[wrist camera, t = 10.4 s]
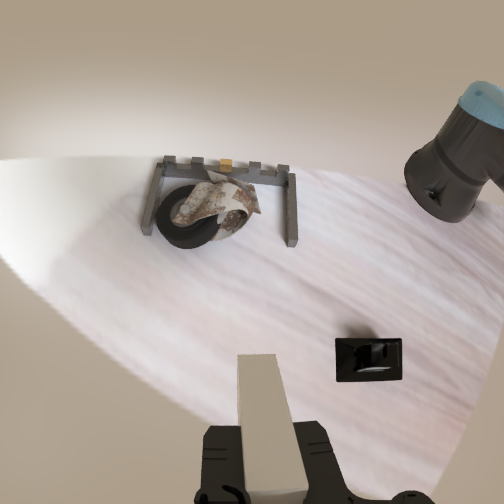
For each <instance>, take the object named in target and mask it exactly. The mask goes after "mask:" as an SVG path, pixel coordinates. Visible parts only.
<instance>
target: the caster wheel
mask: <svg viewBox="0 0 504 504" xmlns="http://www.w3.org/2000/svg"><path fill="white" fill-rule="evenodd" d="M207 172H208V174H209V176H210V179H211V181H212V183H213V184H212V183H209V182H199V183H198V184H197V185H187V186H183V187H180V188H178V189H176V190H174V191H173V192H171V193H170V194H169V195H168V196H167V197H166V198H165V199H164V200H163V201H162V203H161V205H160V207H159V209H158V212H157V226H158V228H159V230H160V232H161V233H162V234H163V236H164V237H165V238H166V239H167V240H168V241H169V242H170V243H171V244H172V245H174V246H176V247H178V248H182V249H192V248H197V247H199V246H201V245H203V244H205V243H207V242H208V241H217V240H223V239H226V238H228V237H230V236H232V235H234V234H235V233H236V232H238V231H239V230H240V229H241V228H242V227H243V226H244V225H245V224H246V223H247V221H248V220H249V218H250V216H251V214H252V213H253V212H256V213H258V214H261V211H260V207H259V203H258V200H257V196H256V192H255V188H254V186H253V185H252V184H249V183H246V182H243V181H240V180H237V179H234V178H231V177H227V176H224V175H221V174H218V173H215V172H212V171H207Z"/></svg>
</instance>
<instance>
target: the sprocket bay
mask: <svg viewBox="0 0 504 504" xmlns="http://www.w3.org/2000/svg"><path fill="white" fill-rule="evenodd" d="M260 169H261V162H252V161H249V168H248V169H246V168H235V167H232V160H229V159H221V161H220V166H210V165H204V158H202V157H192V161H191V164H177V163H176V156H164V159H163V163H157V167H156V171H155V174H154V178H153V181H152V185H151V189H150V193H149V197H148V201H147V205H146V209H145V213H144V217H143V221H142V225H141V229H142V232H143V234H144V235H148V236H151V233H152V229H153V224H154V219H155V215H156V210H157V206H158V202H159V197H160V193H161V189H162V185H163V181H164V177H177V178H194V179H208V180H211V179H210V176H209V174H208V172H207V171H212V172H215V173H218V174H221V175H224V176H227V177H231V178H234V179H237V180H240V181H243V182H246V183H256V184H266V185H276V186H285V187H286V203H287V247H295V246H296V244H297V241H298V224H297V199H296V178H295V174H294V173H289V165H280V164H278V166H277V170H276V171H267V170H260Z"/></svg>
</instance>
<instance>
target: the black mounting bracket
mask: <svg viewBox="0 0 504 504" xmlns="http://www.w3.org/2000/svg"><path fill="white" fill-rule="evenodd" d="M335 348H336V381H337V382H369V381H392V380H402V339H401V338H380V339H373V338H336V339H335Z"/></svg>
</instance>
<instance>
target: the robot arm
mask: <svg viewBox="0 0 504 504" xmlns="http://www.w3.org/2000/svg"><path fill="white" fill-rule="evenodd" d="M404 176H405V180H406V183H407V186H408V188H409V190H410V192H411V193H412V195H413V196H414V198H415V199H416V200H417V202H418V203H419V204H420V205H421V206H422V207H423V208H424V209H425V210H426V211H428V212H429V213H430V214H432V215H433V216H435V217H436V218H438V219H440V220H443V221H446V222H450V223H456V222H460V221H462V220H463V219H465V218H466V217H467V216H468V215H469V214H470V213H471V211H472V210H473V208H474V205H475V201H476V199H477V197H478V195H479V193H480V191H481V189H482V187H483V185H484V184H485V183H486V182H487V181H488V180H489V179H491V180H492V181H493V182H494V183H495V184H496V185H497V186H498V187H499V188H500V189H501V190H502V191H503V192H504V90H503V89H501V88H500V87H497V86H496V85H493V84H491V83H488V82H485V81H476V82H473V83H472V84H470V85H469V87H468V88H467V90H466V91H465V92H464V94H463V95H462V96H460V98H459V99H458V104H457V106H456V107H455V108H454V110H453V112H452V113H451V115H450V116H449V118H448V119H447V121H446V122H445V124H444V125H443V127H442V128H441V130H440V131H439V133H438V134H437V136H436V137H435V138H434V139H433V140H432V141H430V142H429V143H428V144H426V145H425V146H424V147H423V148H422V149H419V150H417V151H415V152H414V153H413V154H412V155H411V157H410V158H409V160H408V161H407V163H406V165H405V168H404ZM237 410H238V426H210V427H209V429H208V430H207V432H206V433H205V435H204V438H203V454H202V470H201V488H200V489H199V490H198V491H197V493H196V495H195V498H194V503H195V504H435V503H434V502H433V501H432V500H431V499H430V498H429V497H428V496H426V495H425V494H424V493H422V492H418V491H404V492H401V493H399V494H397V495H396V496H395V497H394V498H393V499H392V500H368V499H363V498H360V497H358V496H356V495H354V494H353V493H352V492H351V491H350V490H349V489H348V488H347V486H346V484H345V482H344V479H343V476H342V473H341V471H340V468H339V465H338V462H337V459H336V457H335V454H334V453H333V448H332V446H331V443H330V440H329V437H328V435H327V432H326V430H325V429H324V428H323V427H322V426H321V425H320V424H319V423H318V422H317V421H306V422H294V423H293V422H292V418H291V414H290V410H289V406H288V403H287V399H286V395H285V391H284V387H283V383H282V379H281V375H280V371H279V367H278V363H277V359H276V355H275V354H263V355H238V368H237Z"/></svg>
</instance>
